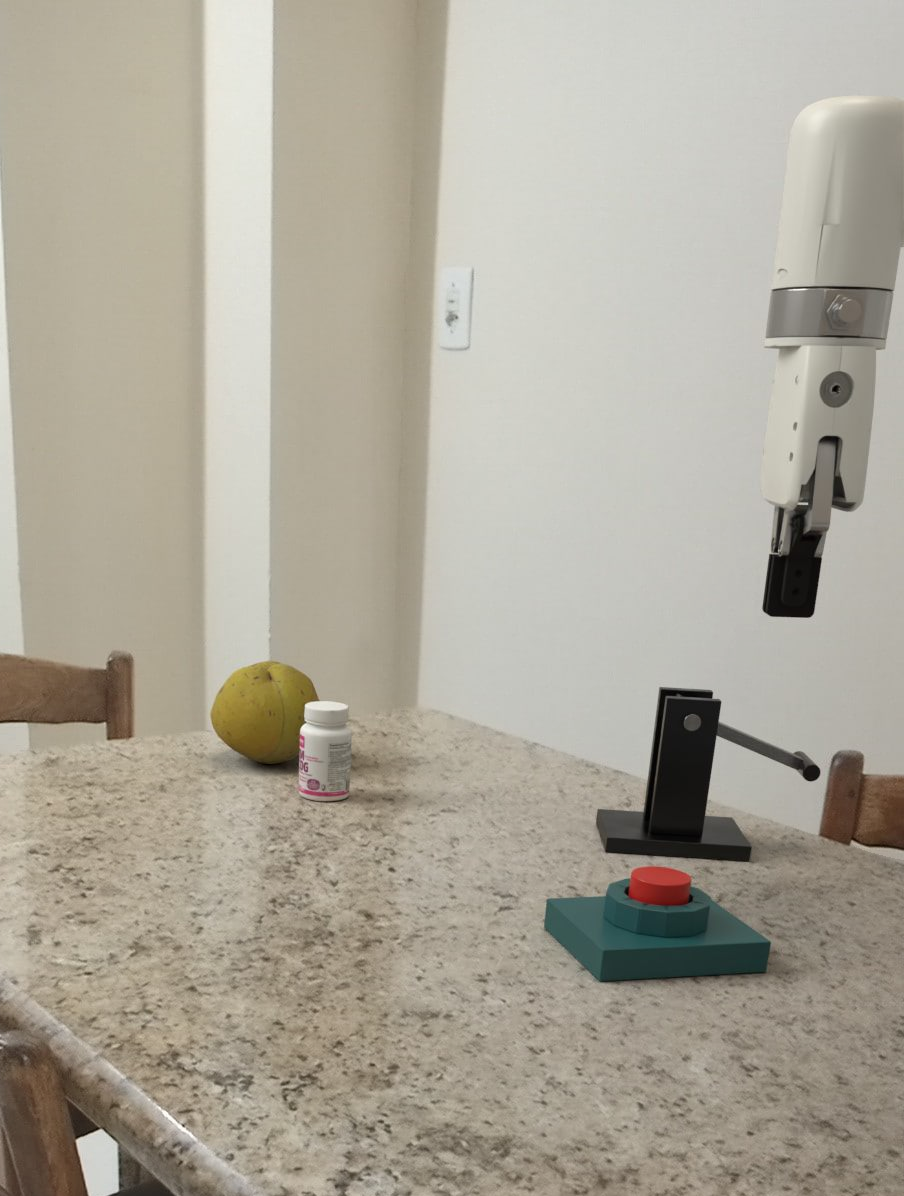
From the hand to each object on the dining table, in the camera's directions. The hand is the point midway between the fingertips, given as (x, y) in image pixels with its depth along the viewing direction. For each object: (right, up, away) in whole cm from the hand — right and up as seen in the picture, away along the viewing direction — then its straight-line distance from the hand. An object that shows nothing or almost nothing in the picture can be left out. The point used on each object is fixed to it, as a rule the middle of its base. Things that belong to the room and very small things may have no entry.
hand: (787, 614), depth 95 cm
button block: (-10, -23, -1) cm, 25 cm away
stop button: (-9, -20, -2) cm, 22 cm away
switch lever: (+2, -6, +21) cm, 22 cm away
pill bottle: (-33, -9, +33) cm, 47 cm away
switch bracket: (-3, -14, +24) cm, 28 cm away
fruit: (-39, -4, +43) cm, 59 cm away
